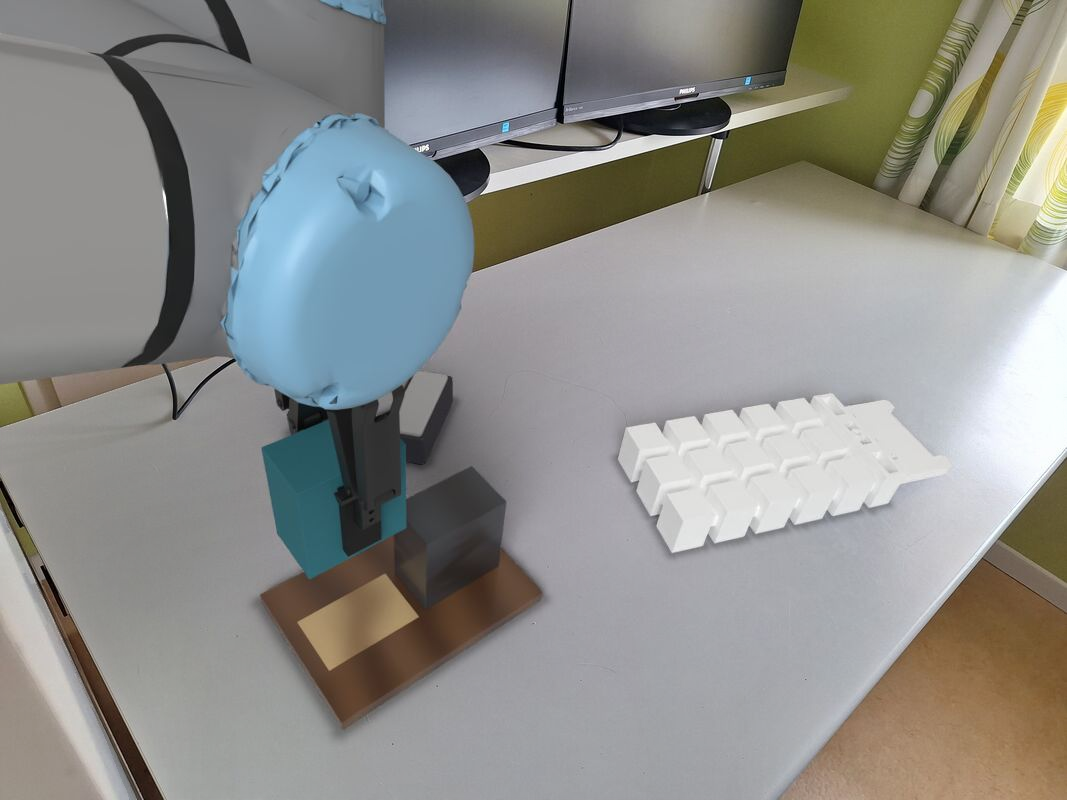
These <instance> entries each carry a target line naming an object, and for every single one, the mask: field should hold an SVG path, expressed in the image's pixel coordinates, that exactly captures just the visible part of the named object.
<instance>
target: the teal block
mask: <svg viewBox="0 0 1067 800" xmlns="http://www.w3.org/2000/svg"><path fill="white" fill-rule="evenodd" d="M261 453H262V460H263V465H264V471H265V475H266V476H265V477H266V481H267V486H268V492H269V497H270V503H271V507H272V513H273V519H274V524H275V530H276V535H278V537H279V539H280V540H281V542H282V543H283V544H284V546H285V547H286V549H287V550H288V551H289V553H290V555H292V557H293V559H294V560H295V562H296V563H297V564H298V565H299V567H300V568H301V570H302V572H304V573H305V574H306V575H307V577H308V578H309V579H312V578H313V577H315V576H317V575H319V574H321V573H323V572H325V571H327V570H329V569H330V568H332V567H334V566H336V565H338V564H340V563H342V562H344V561H345V560H347V559H349V558H351V557H353V556H355V555H357V554H359V553H361V552H362V551H364V550H366V549H368V548H370V547H372V546H374V545H376V544H377V543H379V542H381V541H383V540H385V539H387V538H389V537H391V536H393V535H394V534H396V533H398V532H400V531H402V530H404V529H406V499H407V461H406V444H405V443H404V442H403V441H402V440H401V438H400V454H401V495H400V496H398V497H396V498H394V499H392V500H390V501H388V502H386V503H384V504H382V505H381V534H382V539H381V540H379V541H377V542H376V543H374V544H372V545H370V546H368V547H366V548H364V549H362V550H360V551H359V552H357V553H355V554H353V555H351V556H349V557H348V556H347V555H346V553H345V552H344V551H343V546H342V535H341V524H340V514H339V503H338V502H337V500H336V498H335V496H334V493H335V492H337V488H339V487H341V486H343V481H342V477H341V472H340V468H339V463H338V459H337V454H336V450H335V446H334V441H333V437H332V432H331V428H330V424H329V420H326V421H324V422H322V423H319V424H317V425H314V426H312V427H310V428H307V429H305V430H302V431H300V432H298V433H295V434H293V435H291V434H289V435H288V436H286V437H284V438H281V439H278V440H276V441H273V442H271V443H269V444H267V445H264V446H262V447H261Z"/></svg>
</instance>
